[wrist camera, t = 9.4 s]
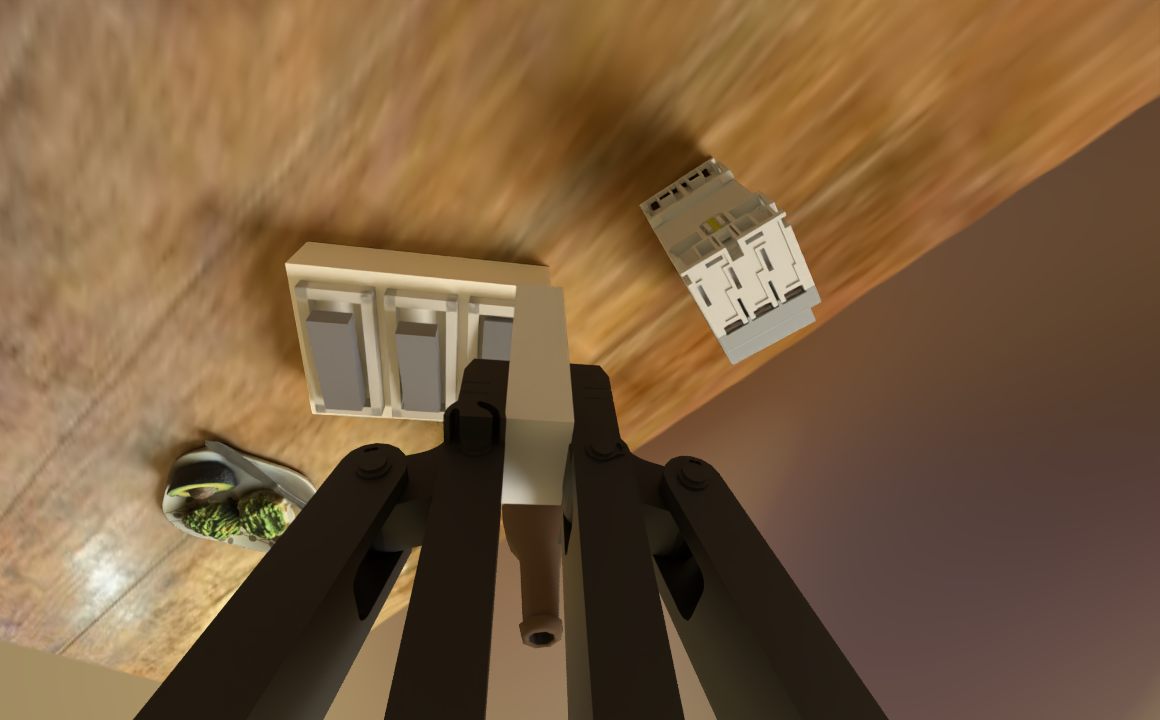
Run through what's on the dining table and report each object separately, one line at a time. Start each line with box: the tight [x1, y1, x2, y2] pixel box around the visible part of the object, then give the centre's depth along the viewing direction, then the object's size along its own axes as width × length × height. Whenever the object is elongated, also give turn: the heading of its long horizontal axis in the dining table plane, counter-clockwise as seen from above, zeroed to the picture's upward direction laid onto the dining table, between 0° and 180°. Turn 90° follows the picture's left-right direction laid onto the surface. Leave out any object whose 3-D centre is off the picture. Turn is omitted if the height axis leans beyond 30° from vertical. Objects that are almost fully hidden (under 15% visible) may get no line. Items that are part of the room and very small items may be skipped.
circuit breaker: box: [639, 157, 821, 365], centre depth 43 cm, size 8×14×15 cm, turn 33°
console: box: [285, 242, 551, 422], centre depth 49 cm, size 16×22×6 cm
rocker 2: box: [395, 321, 442, 413], centre depth 46 cm, size 10×3×2 cm, turn 172°
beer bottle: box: [502, 496, 563, 648], centre depth 51 cm, size 8×8×24 cm
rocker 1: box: [306, 310, 366, 411], centre depth 44 cm, size 10×3×2 cm, turn 172°
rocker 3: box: [482, 316, 513, 361], centre depth 46 cm, size 10×3×2 cm, turn 172°
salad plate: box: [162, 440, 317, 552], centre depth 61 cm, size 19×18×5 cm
